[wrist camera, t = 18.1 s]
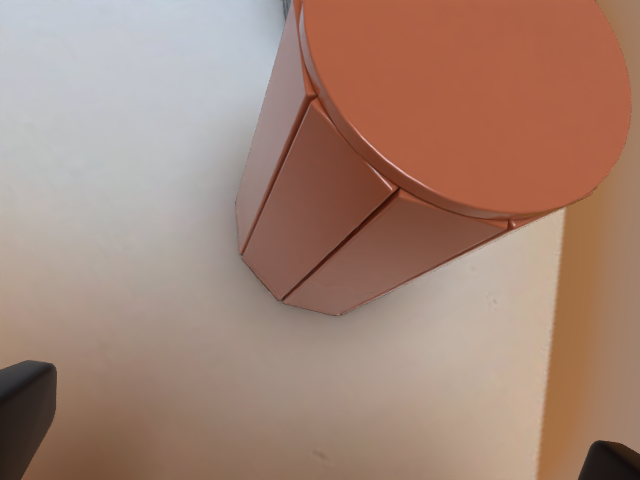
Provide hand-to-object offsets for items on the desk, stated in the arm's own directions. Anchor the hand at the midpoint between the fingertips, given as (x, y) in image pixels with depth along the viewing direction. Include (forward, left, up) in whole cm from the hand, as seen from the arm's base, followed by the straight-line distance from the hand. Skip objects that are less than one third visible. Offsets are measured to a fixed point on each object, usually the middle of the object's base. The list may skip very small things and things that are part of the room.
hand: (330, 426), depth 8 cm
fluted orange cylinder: (+6, +4, -9) cm, 12 cm away
